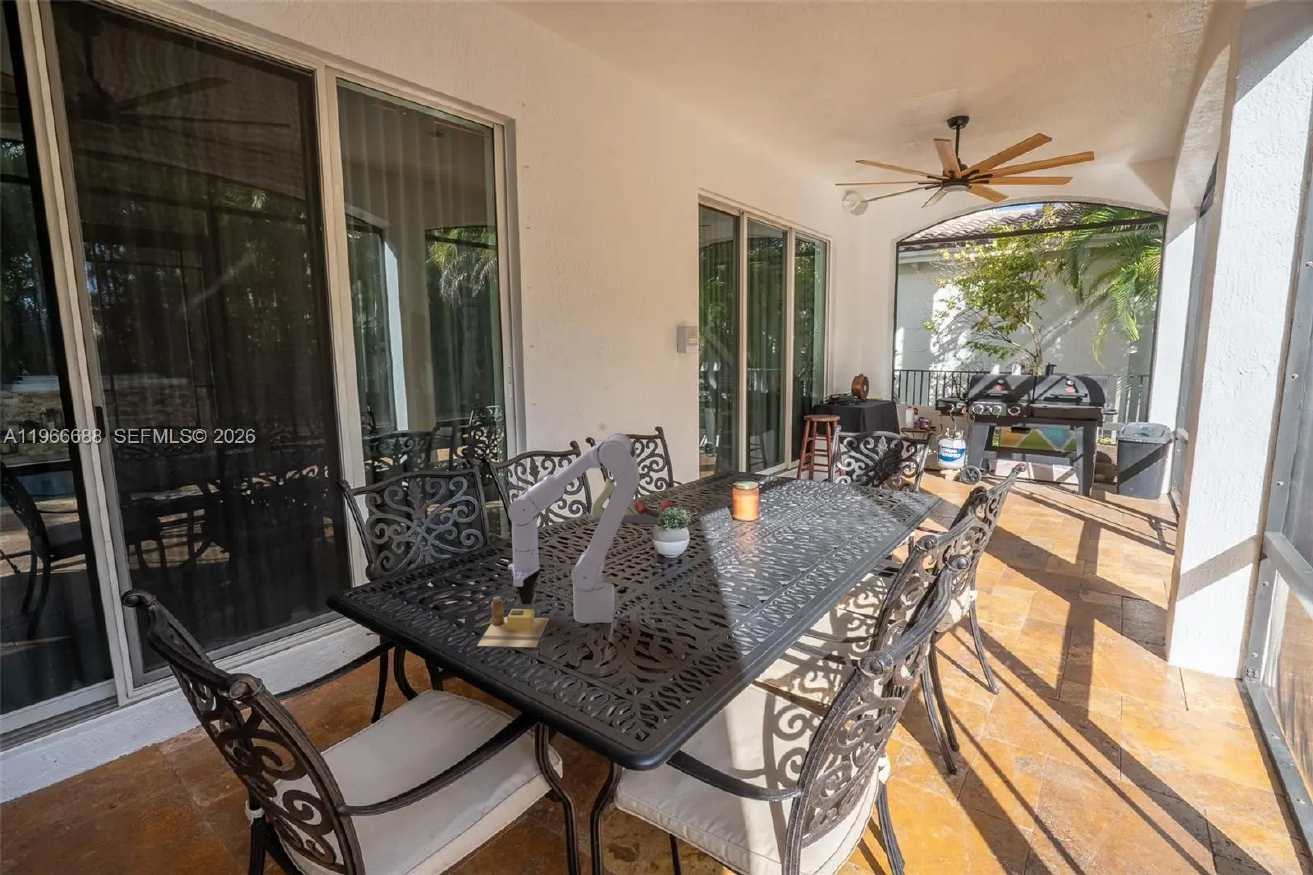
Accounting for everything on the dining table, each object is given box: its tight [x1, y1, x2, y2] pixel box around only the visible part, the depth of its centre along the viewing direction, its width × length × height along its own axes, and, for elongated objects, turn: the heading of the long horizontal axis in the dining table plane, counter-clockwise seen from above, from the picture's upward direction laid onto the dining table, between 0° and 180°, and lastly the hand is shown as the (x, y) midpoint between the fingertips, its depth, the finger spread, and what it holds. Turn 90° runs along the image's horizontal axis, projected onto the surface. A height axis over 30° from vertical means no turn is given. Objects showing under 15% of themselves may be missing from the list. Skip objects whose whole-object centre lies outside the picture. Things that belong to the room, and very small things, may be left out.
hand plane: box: [587, 478, 676, 525], centre depth 215 cm, size 7×31×15 cm, turn 82°
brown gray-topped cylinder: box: [490, 595, 505, 626], centre depth 137 cm, size 3×3×6 cm
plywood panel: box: [476, 616, 550, 648], centre depth 134 cm, size 12×13×1 cm
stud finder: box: [506, 608, 535, 630], centre depth 136 cm, size 5×4×3 cm
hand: (527, 603), depth 142 cm, fingers closed
